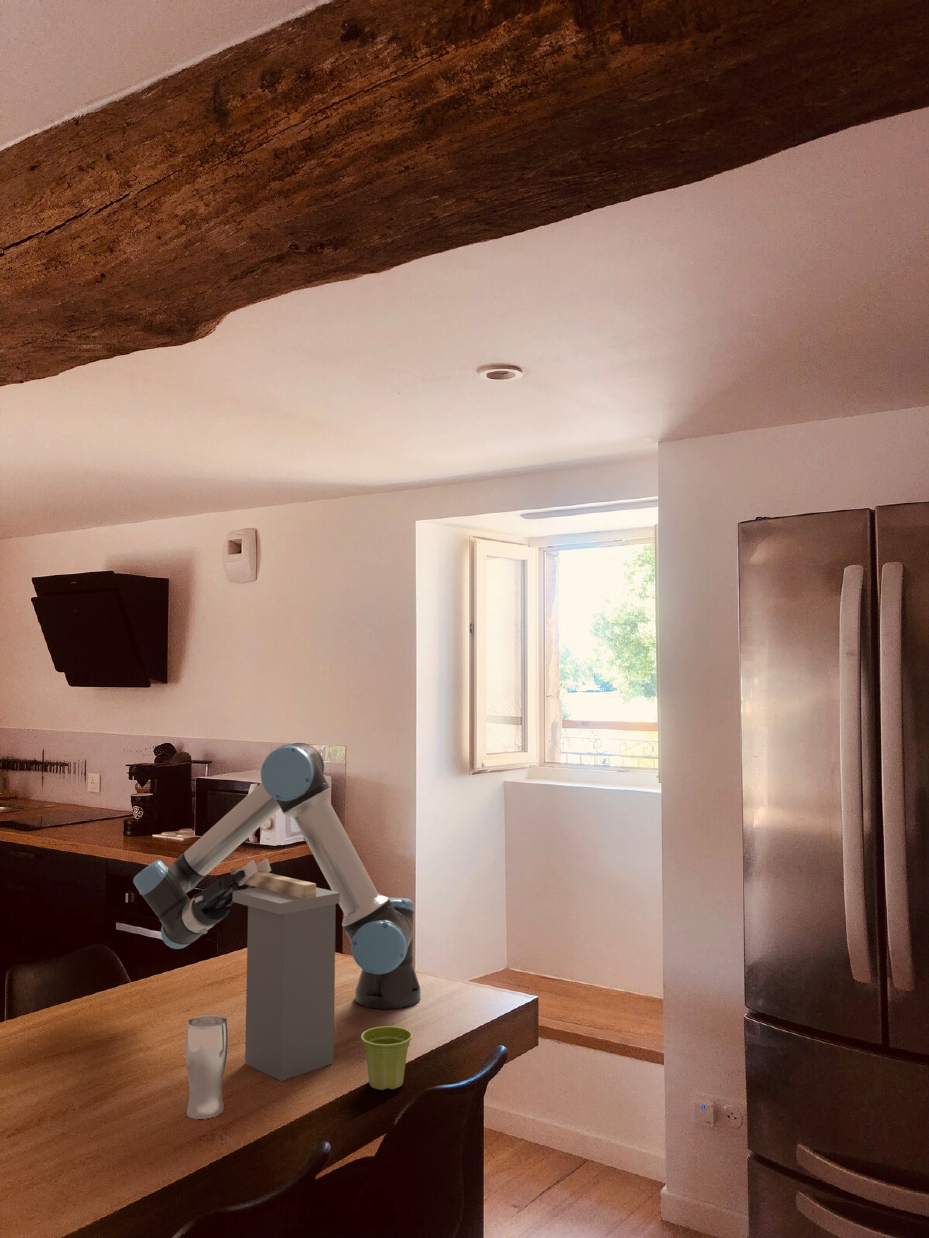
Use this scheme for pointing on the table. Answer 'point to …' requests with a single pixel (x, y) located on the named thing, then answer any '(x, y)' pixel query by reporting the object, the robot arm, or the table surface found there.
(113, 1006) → the table surface
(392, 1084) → the plant pot
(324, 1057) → the grey stand
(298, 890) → the wooden bar
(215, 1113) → the beer glass
